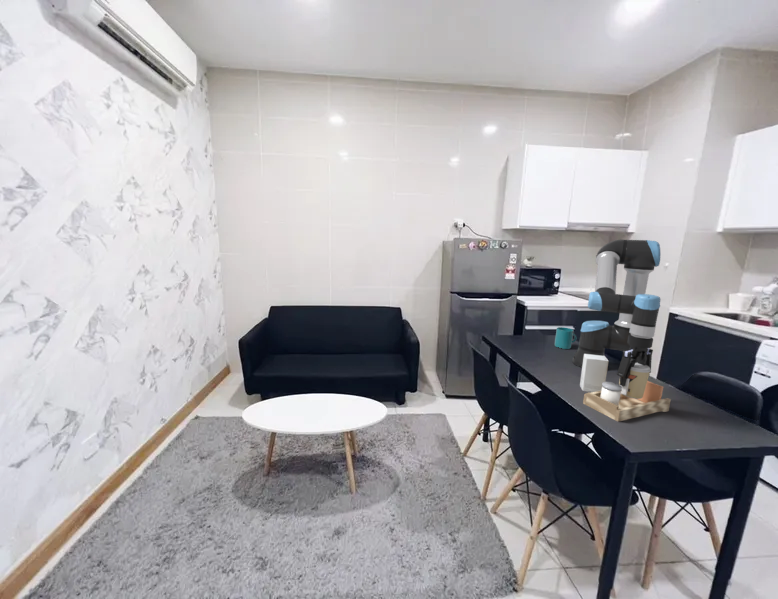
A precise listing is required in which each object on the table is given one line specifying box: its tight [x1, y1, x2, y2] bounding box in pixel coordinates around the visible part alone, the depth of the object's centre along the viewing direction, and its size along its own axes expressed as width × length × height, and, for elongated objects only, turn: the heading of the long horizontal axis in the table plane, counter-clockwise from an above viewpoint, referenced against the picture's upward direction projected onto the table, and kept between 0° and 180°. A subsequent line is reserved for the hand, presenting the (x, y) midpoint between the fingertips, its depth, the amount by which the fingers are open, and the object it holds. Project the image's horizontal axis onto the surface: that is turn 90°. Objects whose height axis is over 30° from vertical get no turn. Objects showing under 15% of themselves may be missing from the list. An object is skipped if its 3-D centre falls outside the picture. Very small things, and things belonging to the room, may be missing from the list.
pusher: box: [638, 380, 664, 403], centre depth 134 cm, size 4×11×19 cm, turn 22°
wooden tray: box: [582, 391, 672, 422], centre depth 131 cm, size 29×14×6 cm, turn 112°
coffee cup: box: [618, 362, 652, 399], centre depth 130 cm, size 9×9×12 cm
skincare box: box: [579, 354, 610, 393], centre depth 144 cm, size 8×7×16 cm
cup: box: [554, 326, 577, 350], centre depth 204 cm, size 9×12×11 cm
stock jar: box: [600, 381, 622, 406], centre depth 127 cm, size 6×6×10 cm
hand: (630, 391), depth 131 cm, fingers closed on coffee cup, 9 cm apart
